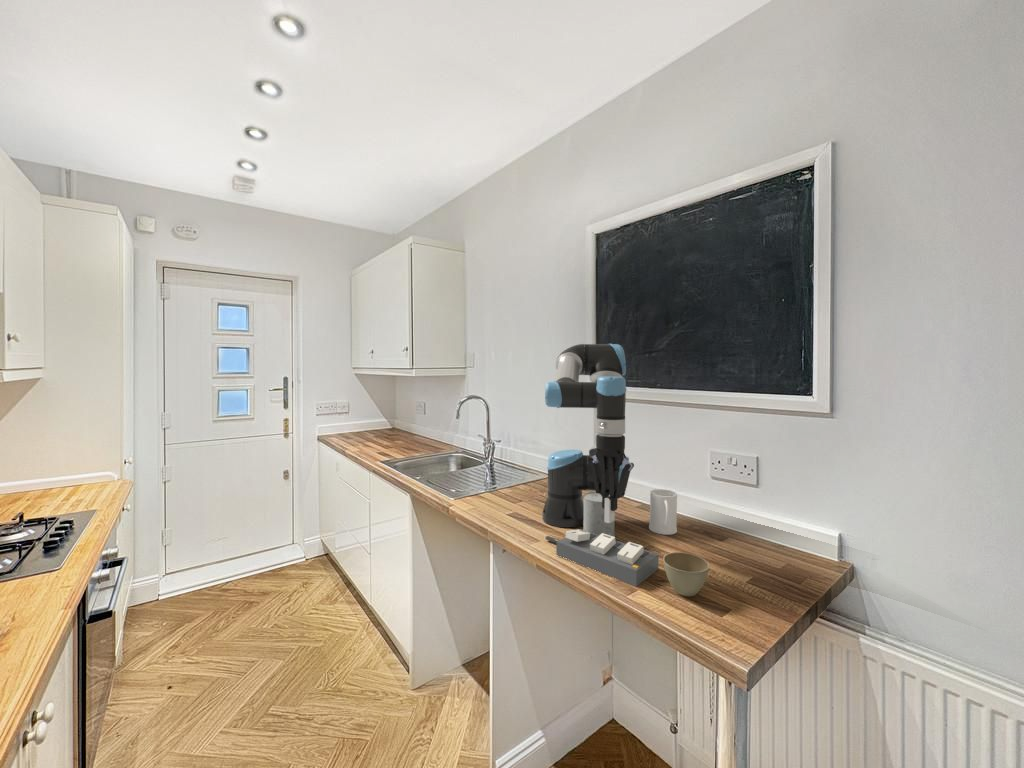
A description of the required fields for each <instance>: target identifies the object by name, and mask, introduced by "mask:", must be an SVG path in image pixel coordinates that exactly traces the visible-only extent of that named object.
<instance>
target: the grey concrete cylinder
mask: <svg viewBox="0 0 1024 768" xmlns="http://www.w3.org/2000/svg"><path fill="white" fill-rule="evenodd" d="M609 496H610V495H609ZM582 498H583V502H584V523H583V525H582V526H583V527H582V530H584V531H588V532H591V533H594V534H597V535H601V534H602V533H603V534H607V535H610V536H613V537H615V521H613V522H611V523H606V522H604V513H605V509H604V508H602V496H601V495H600V494H599V493H596V491H591V492H587V493H585V494H583V495H582ZM615 538H616V537H615Z"/></svg>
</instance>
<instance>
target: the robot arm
mask: <svg viewBox="0 0 1024 768" xmlns="http://www.w3.org/2000/svg"><path fill="white" fill-rule="evenodd" d="M626 364H627V363H626V356H625V351H624V348H623V346H622V345H621V344H619V343H615V344H614V343H603V344H602V343H592V344H591V343H589V344H588V343H587V344H585V343H579V344H575V345H572V346H570V347H568V348H566V349H564V350H563V351H562V352H561V353H560V354H559V355H558V356H557V358H556V362H555V369H556V374H555V378H554V381H547V382H546V384H545V387H544V388H545V389H544V390H545V391H544V402H545V405H546V406H547V407H548V408H557V409H559V408H563V409H565V408H569V409H571V408H573V409H574V408H575V409H576V408H577V409H582V408H583V409H593V445H592V447H591V448H590V449H589V450H588V454H587V455H586V454H585V455H584V452H583V451H582V450H580V449H563V450H558V451H555V452H554V451H553V453H550V455H548V459H547V466H546V469H547V498H546V500H545V503H544V505H543V510H542V513H541V514H542V521H543V522H545V524H548V525H550V526H554V527H559V528H575V527H580V526H583V523H584V498H583V491H591V492H596V493H599V494H600V495H601V496H602V508H604V509H605V513H604V522H606V523H611V522H613V521H614V522H615V517H616V514H615V513H616V512H615V511H617V510H618V500H619V499H620V498H623V497H624V496H625V494H626V491H627V486H628V482H629V478H630V473H631V471H632V470H633V469H634V467H635V464H634V463H633V462H630V461H629V460H630V457H628V456H627V455H626V453H625V450H626V436H625V433H626V400H627V398H626V397H627V394H626V393H627V386H626V385H627V384H626V378H625V377H624V376H626V373H627V365H626ZM580 376H589V382H587V381H580ZM609 495H610V496H609Z"/></svg>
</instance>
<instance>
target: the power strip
mask: <svg viewBox="0 0 1024 768" xmlns="http://www.w3.org/2000/svg"><path fill="white" fill-rule="evenodd" d="M581 530H582V531H584V530H583V529H581ZM585 532H588V531H585ZM588 533H590V540H585V541H579V542H577V541H574V540H571V539H568V538H565V537H564V538H561V539H558V538H555V537H552V536H549V535H546V536H545V539H546V540H547V541H550V542H552V543H554V544H556V555H558V556H561V557H564V558H567V559H569V560H571V561H574V562H576V563H578V564H577V565H579V564H581V565H584V566H586V567H589V568H591V569H590V570H592V569H594V570H596V571H595V572H597V571H599V572H601V573H600V574H602V573H604V574H606V575H605V576H607V575H608V577H610V576H611V577H610V578H612V577H614V578H613V579H615V578H616V580H617V579H619V580H618V581H620V580H621V581H620V582H622V581H623V583H625V582H626V584H628V585H630V586H633V587H636V588H637V587H638V586H639V585H640V584H642V583H643V582H644V581H646V580H647V579H648V578H649V577H651V576H652V575H653V574H655V573H656V572H657V571H659V557H660V555H659V553H656V552H652V551H649V550H647V549H644V548H643V550H644V553H643V554H642V555H641V556H640V557H639V558H638V559H637V560H636V561H635V563H634V564H633V565H631V564H628V563H625V562H623V561H620V560H618V557H617V553H618V552H619V551H620V550H621V549H622V548H623V547H624V546H625V545H626V544H627V543H624V542H622V541H618V540H616V539H615V541H616V543H615V544H614V545H613V546H612V547H611V548H610V549H609V550H608V551H607V552H606V553H605V554H604V555H603V554H600V553H597V552H594V551H591V548H590V544H591V543H592V542H593V541H594V540H595V539H596V538H597V537H598V536H599V535H597V534H594V533H591V532H588ZM556 555H555V556H556ZM558 556H557V557H558ZM561 557H560V558H561ZM571 561H570V562H571ZM574 562H573V563H574ZM576 563H575V564H576ZM581 565H580V566H581ZM584 566H583V567H584ZM586 567H585V568H586ZM589 568H588V569H589ZM594 570H593V571H594ZM599 572H598V573H599ZM604 574H603V575H604Z"/></svg>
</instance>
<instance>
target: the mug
mask: <svg viewBox="0 0 1024 768" xmlns="http://www.w3.org/2000/svg"><path fill="white" fill-rule="evenodd" d="M649 495H650V503H649V525H648V530H650V531H651V532H653V533H655V534H659V535H664V536H665V535H666V536H668V535H675V534H676V533H678V529H677V528H678V527H677V517H678V515H677V514H678V513H677V512H678V508H677V507H678V493H677V492H676V491H673V490H669V489H665V488H664V489H663V488H661V489H659V488H658V489H657V488H655V489H652V490H650V493H649Z"/></svg>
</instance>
